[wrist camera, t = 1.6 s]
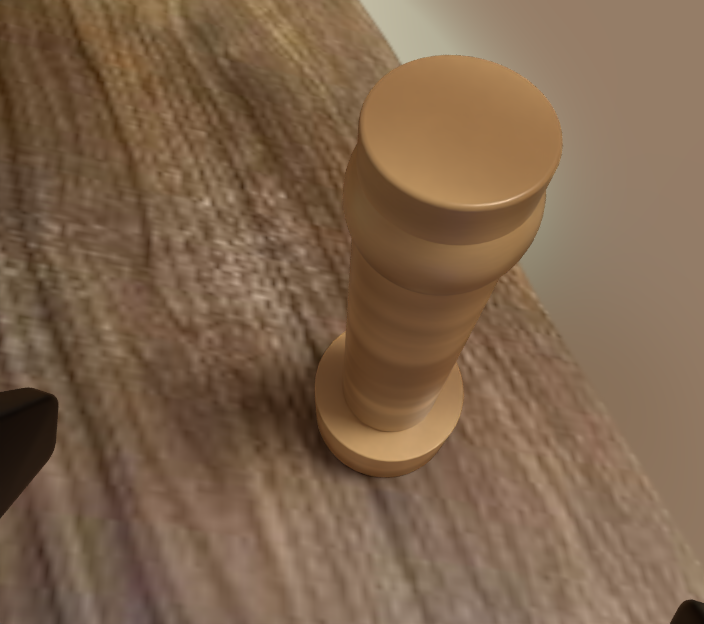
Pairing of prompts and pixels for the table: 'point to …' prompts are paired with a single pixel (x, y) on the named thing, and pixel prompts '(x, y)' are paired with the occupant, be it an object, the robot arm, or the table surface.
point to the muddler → (428, 249)
